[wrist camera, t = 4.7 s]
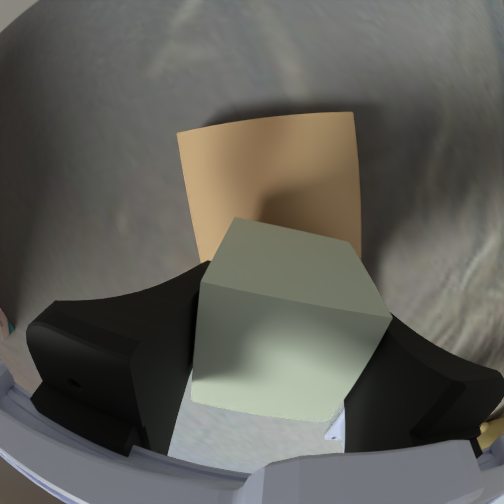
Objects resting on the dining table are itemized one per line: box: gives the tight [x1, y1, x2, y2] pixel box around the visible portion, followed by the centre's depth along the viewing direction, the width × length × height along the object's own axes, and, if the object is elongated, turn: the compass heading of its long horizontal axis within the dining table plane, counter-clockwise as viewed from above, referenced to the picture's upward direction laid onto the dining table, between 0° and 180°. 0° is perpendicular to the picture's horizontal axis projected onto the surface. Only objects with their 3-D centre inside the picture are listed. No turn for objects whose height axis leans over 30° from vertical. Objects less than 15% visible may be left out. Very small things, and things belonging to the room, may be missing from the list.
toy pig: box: [477, 414, 504, 450], centre depth 20 cm, size 10×12×11 cm
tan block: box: [177, 112, 361, 263], centre depth 15 cm, size 8×14×3 cm, turn 8°
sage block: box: [191, 217, 393, 422], centre depth 10 cm, size 5×5×6 cm
